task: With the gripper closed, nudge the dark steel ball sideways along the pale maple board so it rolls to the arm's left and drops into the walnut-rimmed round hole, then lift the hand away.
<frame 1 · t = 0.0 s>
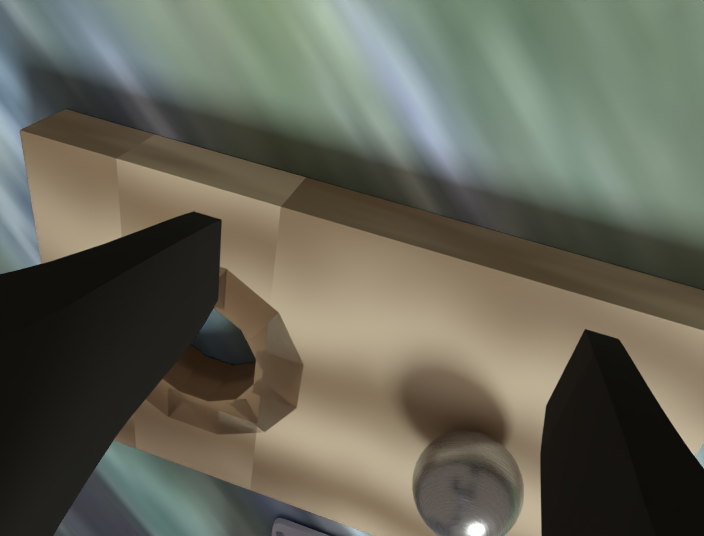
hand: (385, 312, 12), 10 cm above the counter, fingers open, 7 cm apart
ball: (467, 486, 22), point 4 cm above the counter, touching deck
deck: (346, 357, 26), on the counter
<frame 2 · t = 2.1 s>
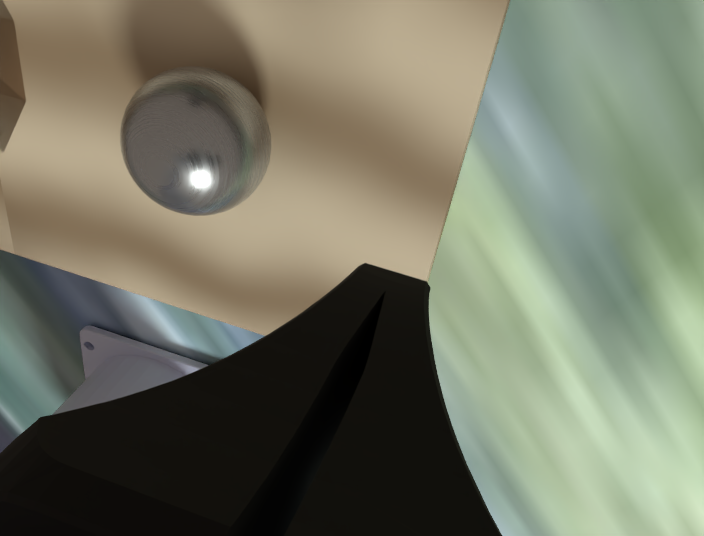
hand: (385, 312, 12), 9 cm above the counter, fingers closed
ball: (198, 142, 17), point 4 cm above the counter, touching deck
deck: (103, 53, 21), on the counter
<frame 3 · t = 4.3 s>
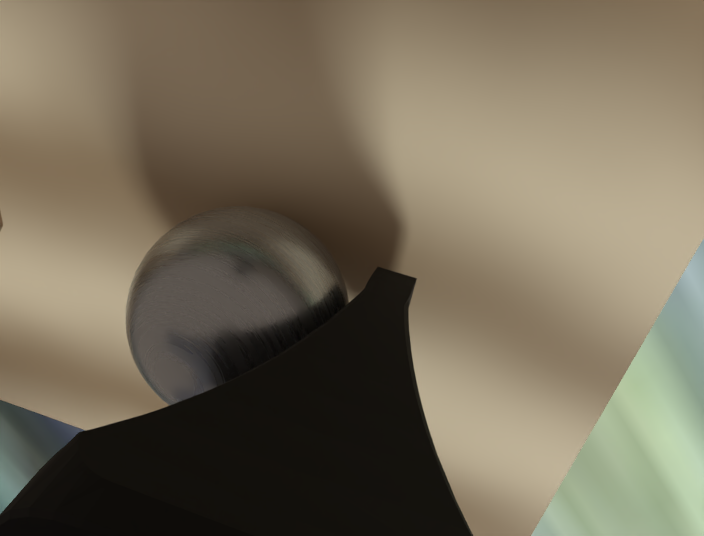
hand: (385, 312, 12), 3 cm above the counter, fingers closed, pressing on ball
ball: (241, 315, 11), point 4 cm above the counter, tilted 7°, touching deck, gripper
deck: (108, 152, 16), on the counter
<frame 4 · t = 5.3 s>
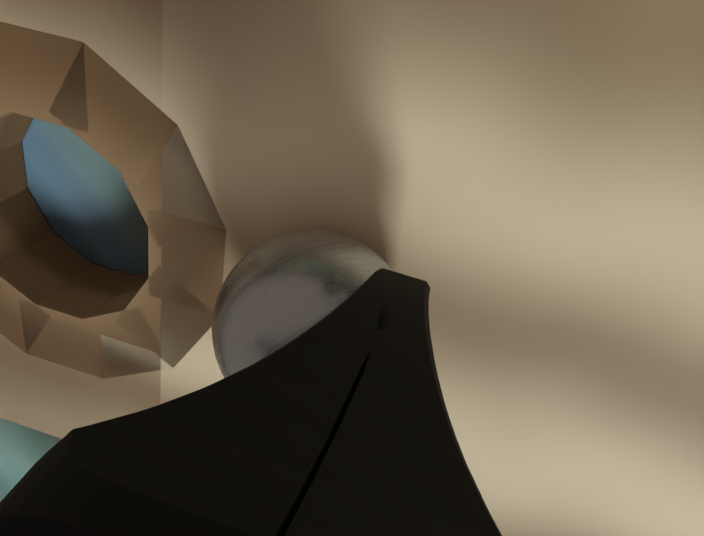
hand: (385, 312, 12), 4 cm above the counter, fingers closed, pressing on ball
ball: (312, 327, 12), point 4 cm above the counter, tilted 130°, touching deck, gripper
deck: (304, 244, 17), on the counter
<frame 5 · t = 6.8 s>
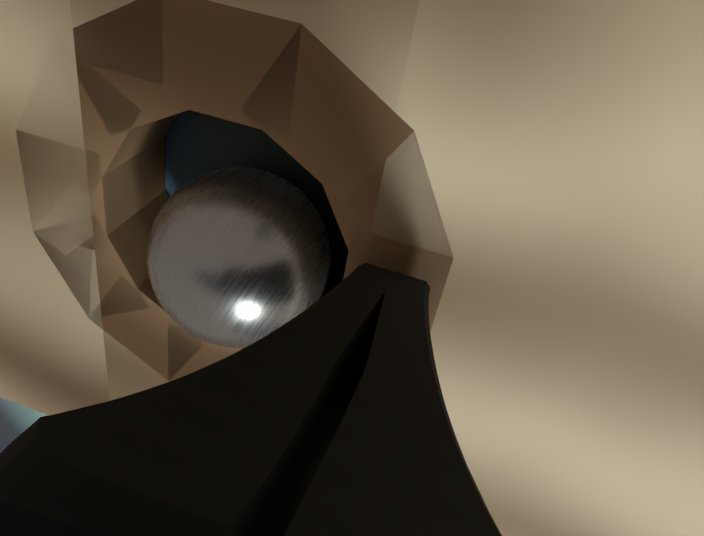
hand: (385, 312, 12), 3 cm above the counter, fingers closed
ball: (241, 257, 13), point 2 cm above the counter, tilted 86°
deck: (506, 263, 14), on the counter
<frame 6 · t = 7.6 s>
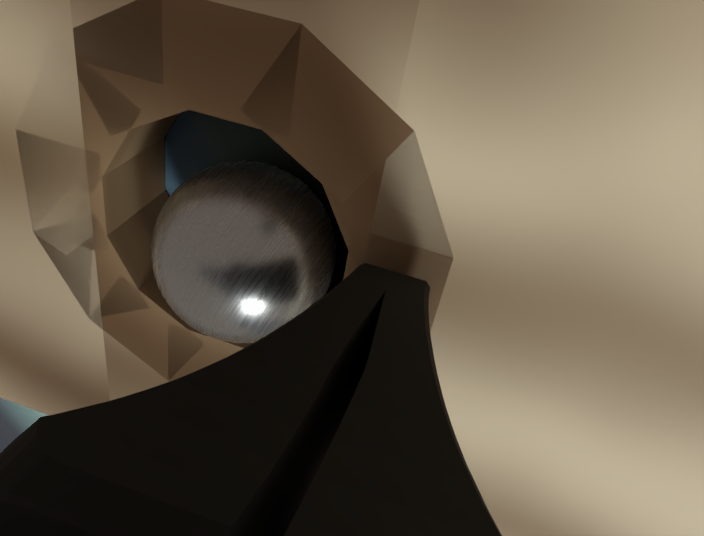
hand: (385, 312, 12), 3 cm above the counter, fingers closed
ball: (246, 252, 13), point 2 cm above the counter, tilted 86°
deck: (506, 263, 14), on the counter
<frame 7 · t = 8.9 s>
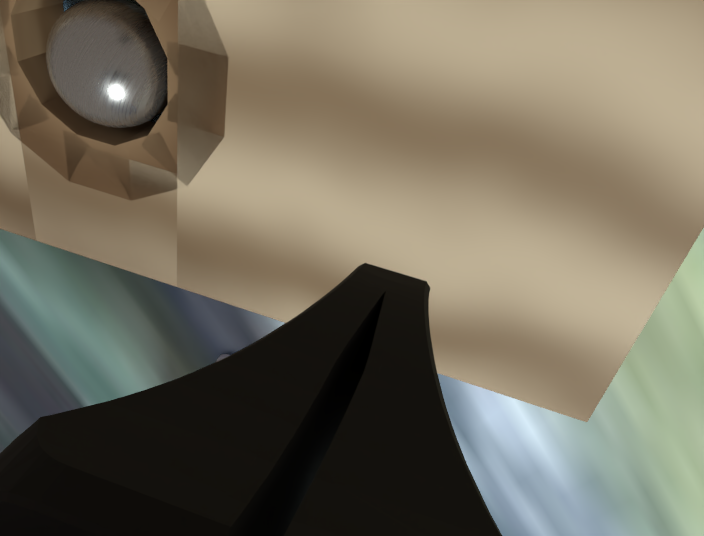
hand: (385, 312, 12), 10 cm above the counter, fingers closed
ball: (114, 64, 20), point 2 cm above the counter, tilted 88°
deck: (293, 86, 20), on the counter
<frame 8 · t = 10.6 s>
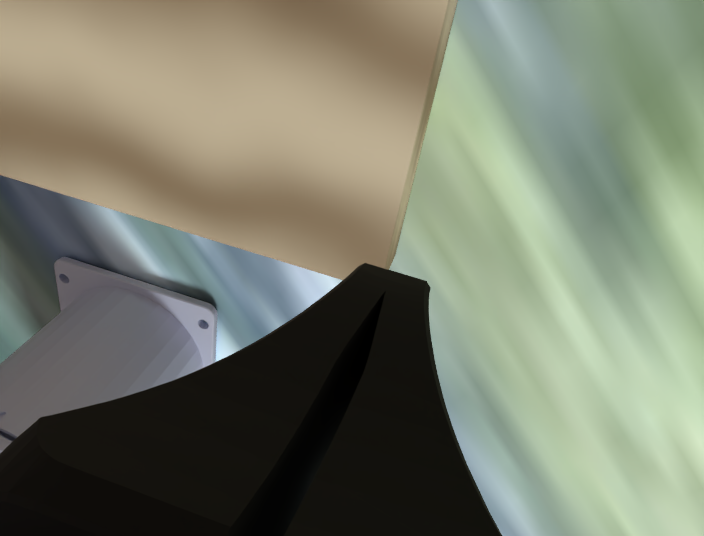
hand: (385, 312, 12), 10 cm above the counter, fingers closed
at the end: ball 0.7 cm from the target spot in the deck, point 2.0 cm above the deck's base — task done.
